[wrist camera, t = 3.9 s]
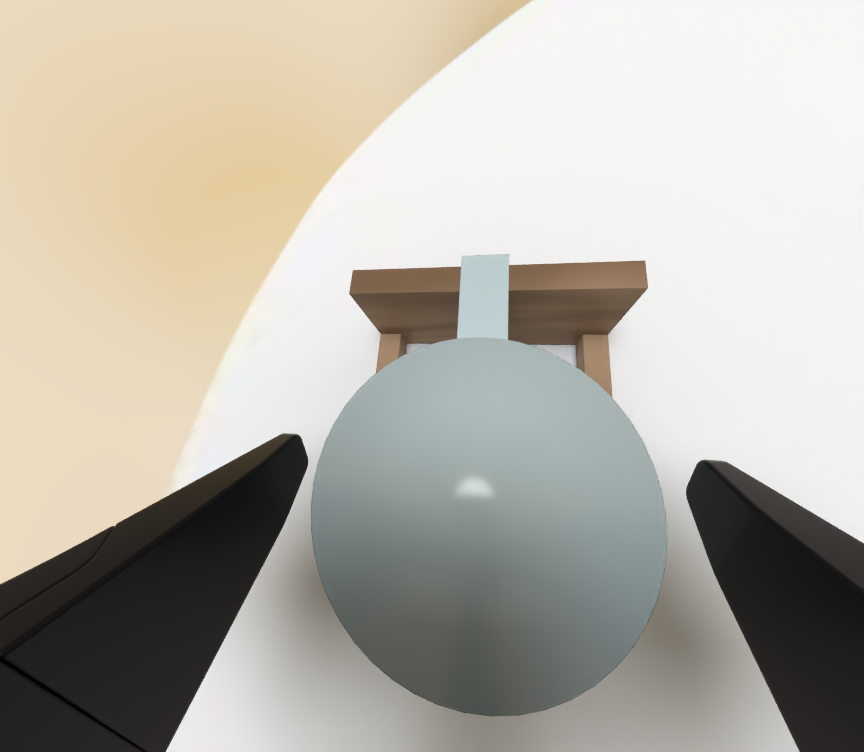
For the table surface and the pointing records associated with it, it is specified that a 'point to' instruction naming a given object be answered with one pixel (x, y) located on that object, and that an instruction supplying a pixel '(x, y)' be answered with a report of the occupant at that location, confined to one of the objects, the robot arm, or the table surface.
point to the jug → (488, 518)
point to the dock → (527, 307)
